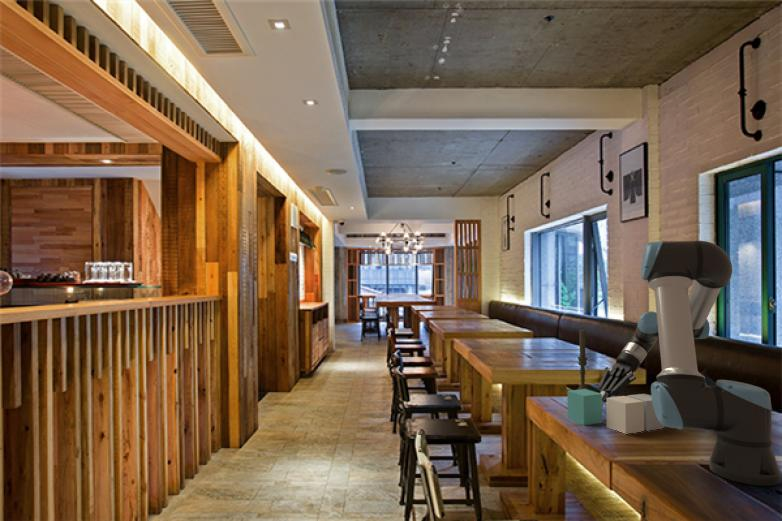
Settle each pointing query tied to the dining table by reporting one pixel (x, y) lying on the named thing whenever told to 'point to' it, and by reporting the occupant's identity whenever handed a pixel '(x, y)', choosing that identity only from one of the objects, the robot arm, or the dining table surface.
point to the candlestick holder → (582, 359)
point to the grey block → (648, 412)
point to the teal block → (585, 406)
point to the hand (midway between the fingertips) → (596, 407)
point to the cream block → (625, 414)
